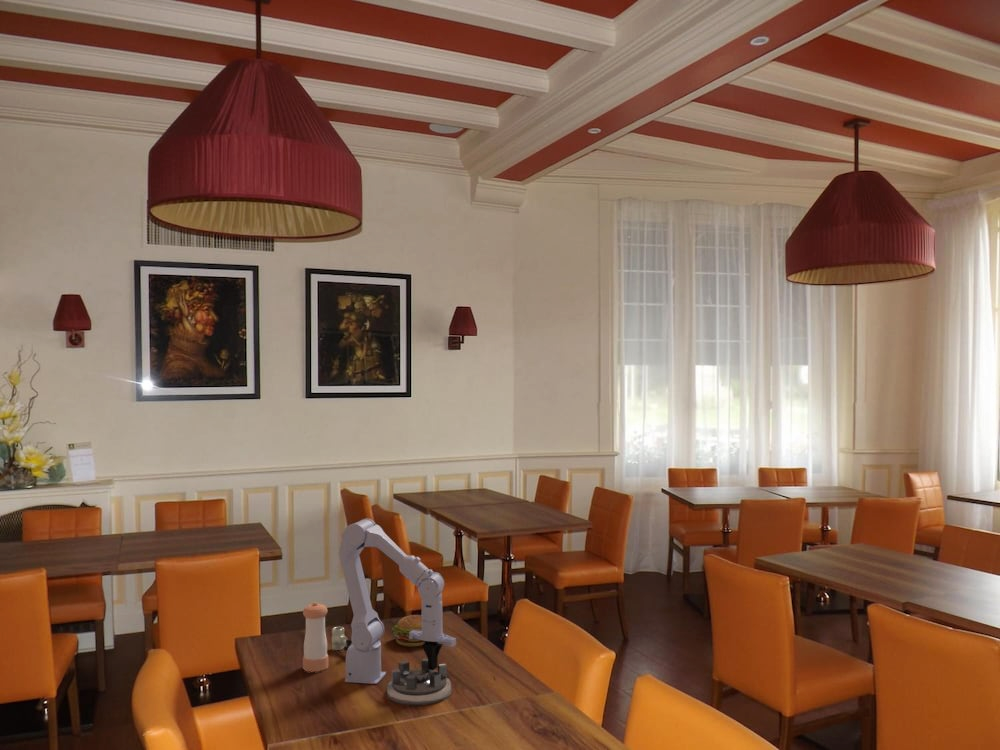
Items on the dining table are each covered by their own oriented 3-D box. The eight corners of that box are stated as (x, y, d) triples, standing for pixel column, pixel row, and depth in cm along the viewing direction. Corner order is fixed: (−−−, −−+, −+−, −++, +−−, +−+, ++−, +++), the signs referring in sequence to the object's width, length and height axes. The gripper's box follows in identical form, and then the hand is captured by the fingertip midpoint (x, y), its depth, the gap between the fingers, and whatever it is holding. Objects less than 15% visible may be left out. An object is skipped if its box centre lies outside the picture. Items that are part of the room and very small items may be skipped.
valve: (325, 650, 238) (345, 660, 229) (325, 629, 238) (345, 638, 229) (344, 645, 242) (364, 655, 233) (344, 624, 242) (364, 633, 233)
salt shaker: (297, 670, 221) (297, 604, 221) (312, 662, 227) (312, 597, 228) (318, 674, 218) (318, 606, 218) (333, 665, 225) (333, 600, 225)
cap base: (378, 703, 198) (378, 694, 198) (398, 678, 214) (398, 670, 214) (441, 707, 195) (441, 699, 195) (457, 682, 211) (457, 674, 211)
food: (400, 651, 236) (399, 626, 236) (388, 638, 249) (388, 613, 249) (442, 645, 241) (442, 620, 241) (429, 632, 254) (428, 608, 254)
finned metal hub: (396, 697, 195) (396, 680, 195) (387, 677, 209) (387, 661, 209) (452, 690, 200) (452, 673, 200) (439, 670, 214) (439, 655, 214)
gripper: (462, 618, 210) (462, 668, 210) (419, 611, 217) (420, 659, 217) (447, 625, 204) (448, 677, 204) (404, 618, 211) (405, 667, 211)
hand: (432, 668), depth 210 cm, fingers closed, pressing on finned metal hub
